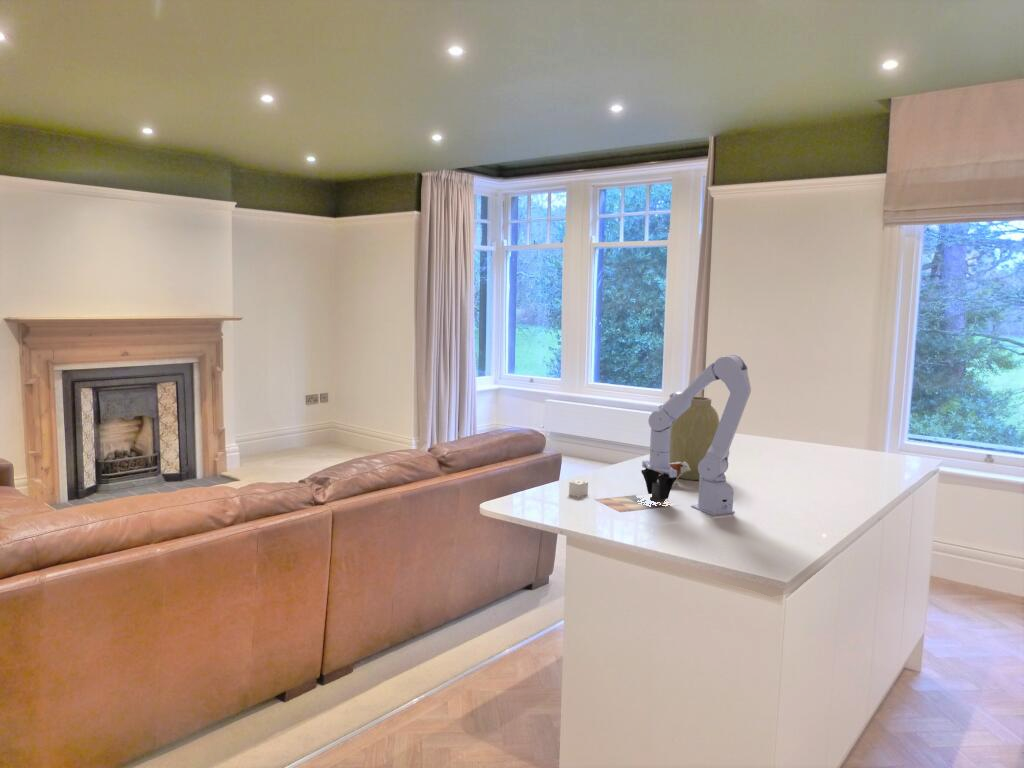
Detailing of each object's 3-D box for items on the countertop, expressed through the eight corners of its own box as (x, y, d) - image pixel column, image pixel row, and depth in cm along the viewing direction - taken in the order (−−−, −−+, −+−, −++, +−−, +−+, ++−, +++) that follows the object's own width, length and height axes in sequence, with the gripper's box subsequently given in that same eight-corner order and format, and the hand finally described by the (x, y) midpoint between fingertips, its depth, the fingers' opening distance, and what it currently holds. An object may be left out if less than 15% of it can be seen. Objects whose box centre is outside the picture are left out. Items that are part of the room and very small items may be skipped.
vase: (702, 469, 253) (706, 394, 250) (728, 480, 236) (733, 401, 234) (658, 471, 248) (661, 395, 246) (682, 483, 232) (686, 401, 229)
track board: (679, 506, 204) (679, 505, 203) (620, 512, 195) (620, 511, 195) (650, 494, 216) (650, 493, 216) (594, 500, 208) (594, 499, 208)
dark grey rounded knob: (668, 501, 208) (669, 484, 207) (655, 502, 206) (656, 485, 205) (659, 497, 212) (660, 481, 211) (647, 498, 210) (647, 482, 209)
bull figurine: (690, 488, 225) (691, 463, 224) (647, 485, 228) (648, 460, 227) (689, 485, 229) (690, 460, 229) (647, 482, 232) (648, 457, 231)
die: (587, 495, 214) (588, 482, 213) (579, 497, 211) (579, 484, 211) (577, 492, 217) (578, 479, 216) (568, 494, 214) (569, 481, 213)
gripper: (634, 447, 212) (632, 491, 214) (663, 456, 199) (661, 503, 200) (654, 445, 215) (652, 489, 217) (683, 455, 202) (681, 501, 203)
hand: (657, 496), depth 209 cm, fingers open, 6 cm apart
